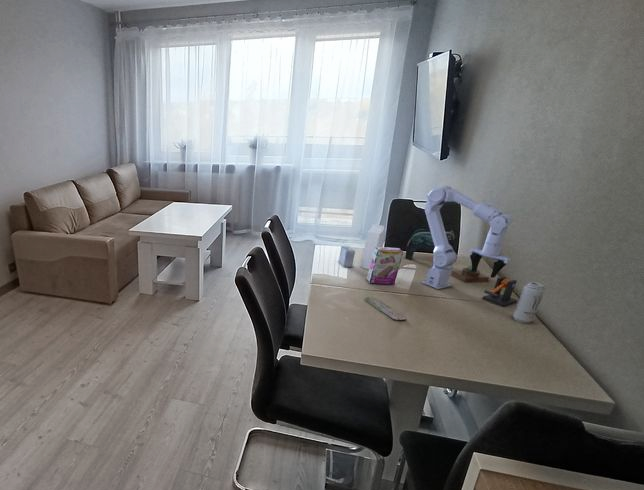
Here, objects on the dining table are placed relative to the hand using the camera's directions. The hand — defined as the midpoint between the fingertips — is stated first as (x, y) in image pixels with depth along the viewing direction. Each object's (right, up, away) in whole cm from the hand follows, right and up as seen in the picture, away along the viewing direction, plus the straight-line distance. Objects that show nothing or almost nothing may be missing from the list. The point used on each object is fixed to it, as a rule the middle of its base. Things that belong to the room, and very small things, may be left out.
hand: (483, 274), depth 173 cm
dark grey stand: (+7, -11, +1) cm, 13 cm away
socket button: (+11, +2, +22) cm, 25 cm away
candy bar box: (-35, -4, +16) cm, 39 cm away
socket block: (+11, -1, +24) cm, 26 cm away
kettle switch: (+4, -7, -3) cm, 9 cm away
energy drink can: (+4, -18, -15) cm, 24 cm away
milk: (-33, +4, +34) cm, 47 cm away
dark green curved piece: (+2, +8, +44) cm, 45 cm away
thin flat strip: (-46, -15, -9) cm, 50 cm away
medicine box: (-43, +6, +37) cm, 57 cm away
